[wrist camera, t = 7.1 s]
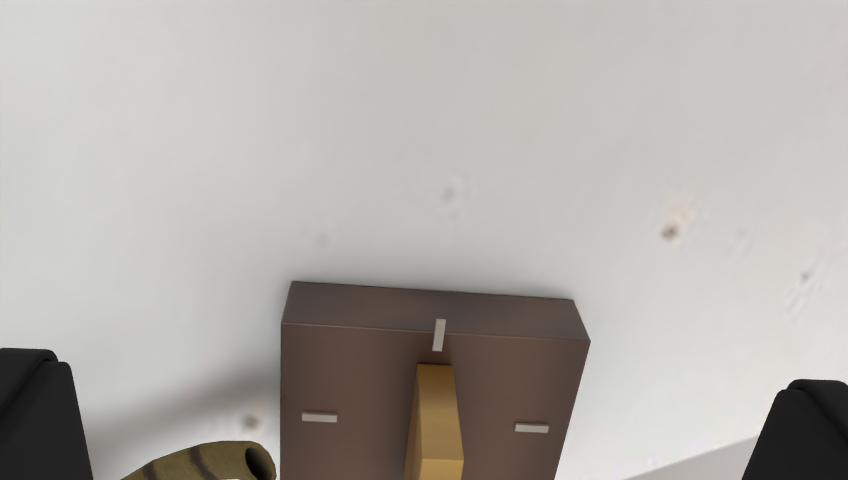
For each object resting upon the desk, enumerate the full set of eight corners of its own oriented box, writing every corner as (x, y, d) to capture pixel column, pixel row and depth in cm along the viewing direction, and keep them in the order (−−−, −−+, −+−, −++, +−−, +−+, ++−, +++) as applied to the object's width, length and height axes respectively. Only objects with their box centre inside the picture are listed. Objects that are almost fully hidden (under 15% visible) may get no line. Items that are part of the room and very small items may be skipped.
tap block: (576, 287, 29) (596, 331, 26) (533, 462, 34) (546, 515, 31) (291, 268, 28) (279, 311, 25) (288, 451, 32) (278, 505, 30)
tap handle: (417, 363, 27) (422, 464, 22) (452, 365, 27) (465, 466, 22) (403, 473, 29) (405, 584, 25) (435, 474, 29) (443, 585, 25)
